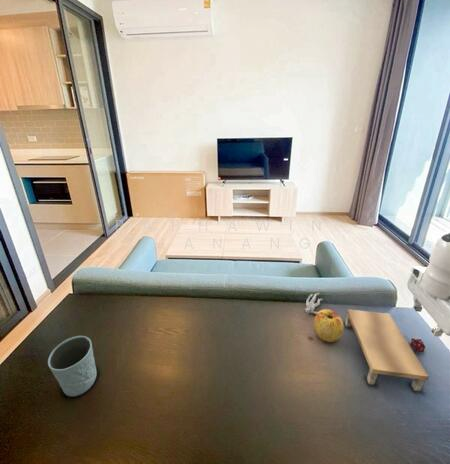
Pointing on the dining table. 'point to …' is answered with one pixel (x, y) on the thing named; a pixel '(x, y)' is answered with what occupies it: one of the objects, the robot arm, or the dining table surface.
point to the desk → (385, 347)
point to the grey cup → (73, 365)
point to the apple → (328, 325)
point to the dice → (417, 345)
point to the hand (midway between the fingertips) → (425, 321)
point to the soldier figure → (312, 304)
